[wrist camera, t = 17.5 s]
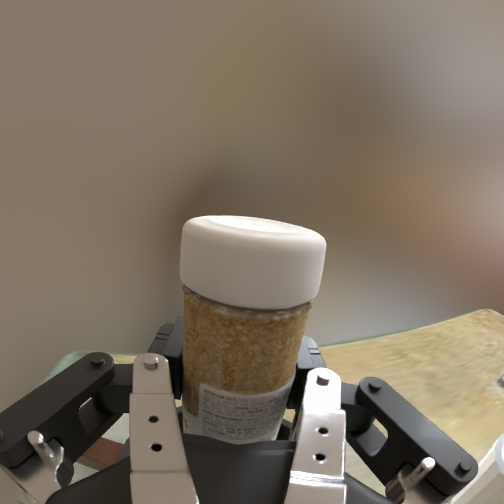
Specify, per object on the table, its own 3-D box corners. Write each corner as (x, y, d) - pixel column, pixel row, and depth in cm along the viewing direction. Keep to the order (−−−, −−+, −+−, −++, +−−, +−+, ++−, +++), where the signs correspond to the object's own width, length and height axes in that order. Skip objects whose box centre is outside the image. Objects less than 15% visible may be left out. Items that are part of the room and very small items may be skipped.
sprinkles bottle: (193, 434, 14) (201, 209, 11) (266, 443, 14) (314, 223, 11) (177, 490, 9) (160, 222, 6) (265, 502, 9) (347, 246, 6)
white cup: (442, 535, 6) (502, 492, 4) (444, 478, 12) (489, 428, 10) (497, 524, 3) (553, 477, 2) (493, 475, 9) (536, 426, 8)
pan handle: (143, 471, 14) (134, 446, 13) (137, 492, 12) (125, 470, 11) (75, 448, 14) (60, 420, 13) (66, 466, 12) (48, 440, 11)
